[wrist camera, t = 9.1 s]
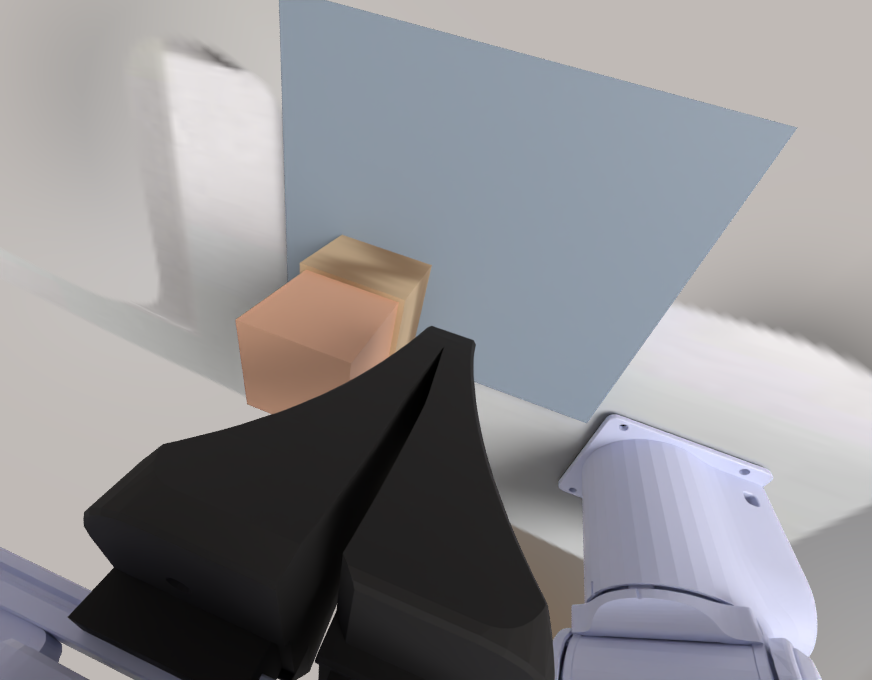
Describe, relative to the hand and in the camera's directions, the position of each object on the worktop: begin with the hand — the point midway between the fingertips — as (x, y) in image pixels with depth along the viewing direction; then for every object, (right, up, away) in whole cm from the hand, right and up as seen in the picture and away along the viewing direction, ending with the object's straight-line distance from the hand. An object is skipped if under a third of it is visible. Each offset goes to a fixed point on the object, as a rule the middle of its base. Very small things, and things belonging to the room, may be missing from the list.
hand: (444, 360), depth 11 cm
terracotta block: (-5, +1, +8) cm, 9 cm away
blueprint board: (+1, +6, +9) cm, 11 cm away
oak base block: (-3, +3, +11) cm, 12 cm away
